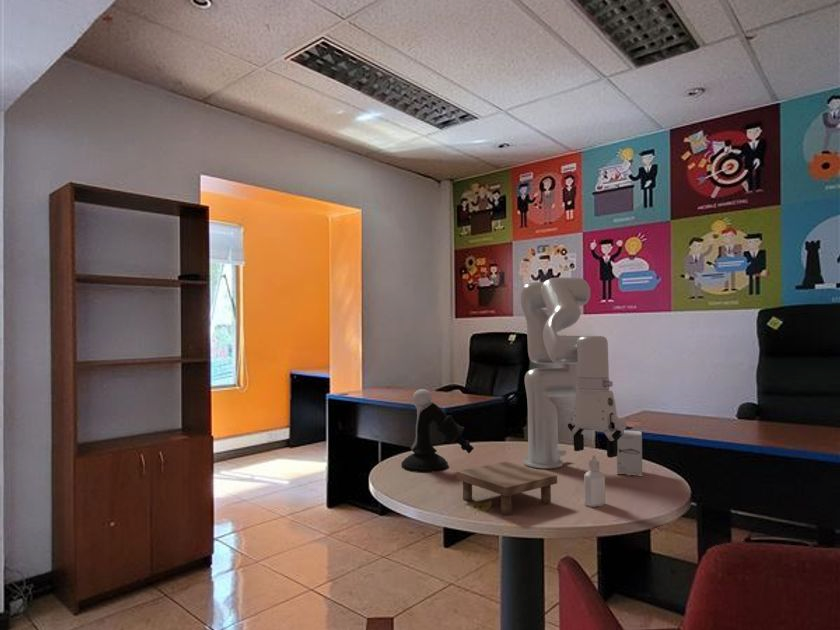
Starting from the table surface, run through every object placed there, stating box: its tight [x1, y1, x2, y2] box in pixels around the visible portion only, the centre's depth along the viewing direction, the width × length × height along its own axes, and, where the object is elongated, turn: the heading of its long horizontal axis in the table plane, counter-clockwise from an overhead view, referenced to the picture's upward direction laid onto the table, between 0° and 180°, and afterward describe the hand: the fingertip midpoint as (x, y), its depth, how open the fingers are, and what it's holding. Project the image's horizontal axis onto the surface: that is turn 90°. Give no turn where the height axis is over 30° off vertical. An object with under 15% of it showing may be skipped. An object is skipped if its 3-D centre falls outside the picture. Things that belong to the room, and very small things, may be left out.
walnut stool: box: [456, 461, 558, 517], centre depth 132 cm, size 18×18×7 cm
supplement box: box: [616, 429, 643, 476], centre depth 159 cm, size 7×7×13 cm
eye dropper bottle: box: [583, 455, 606, 508], centre depth 129 cm, size 4×6×12 cm
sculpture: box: [401, 388, 475, 473], centre depth 168 cm, size 15×24×25 cm, turn 76°
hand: (595, 453), depth 129 cm, fingers open, 9 cm apart
